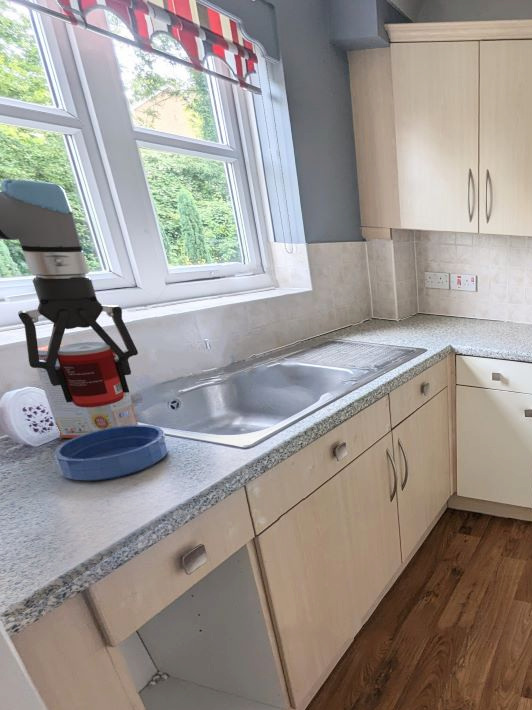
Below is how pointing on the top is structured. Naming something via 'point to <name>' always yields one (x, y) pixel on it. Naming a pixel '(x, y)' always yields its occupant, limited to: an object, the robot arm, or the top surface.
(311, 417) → the top surface
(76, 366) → the canned food
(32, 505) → the top surface
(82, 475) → the bowl
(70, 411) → the cracker box
